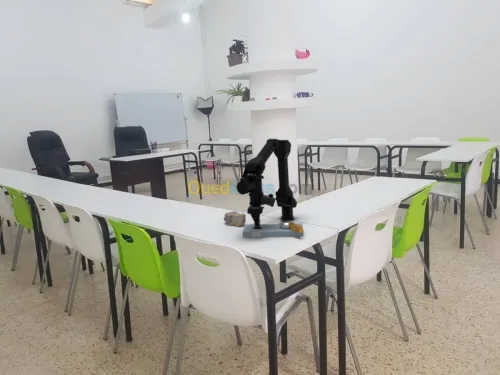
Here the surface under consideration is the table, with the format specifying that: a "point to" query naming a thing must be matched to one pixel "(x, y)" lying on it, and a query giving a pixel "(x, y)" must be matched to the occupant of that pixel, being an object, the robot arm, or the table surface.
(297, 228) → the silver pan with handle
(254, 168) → the robot arm
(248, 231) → the plate
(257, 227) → the pin
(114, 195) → the table surface
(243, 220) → the mineral specimen
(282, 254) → the table surface
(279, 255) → the table surface
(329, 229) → the table surface
